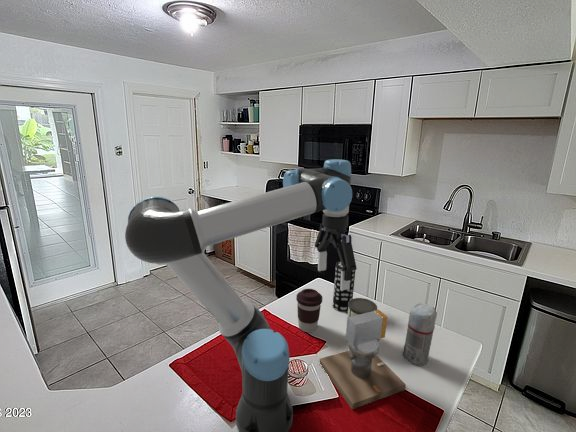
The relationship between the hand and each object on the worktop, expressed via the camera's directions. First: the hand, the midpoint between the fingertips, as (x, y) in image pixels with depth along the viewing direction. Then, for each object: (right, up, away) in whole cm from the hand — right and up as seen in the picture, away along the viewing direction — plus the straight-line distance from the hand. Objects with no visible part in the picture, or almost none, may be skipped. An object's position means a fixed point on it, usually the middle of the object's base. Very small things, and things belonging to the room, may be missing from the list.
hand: (332, 279), depth 98 cm
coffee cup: (-6, -24, +26) cm, 36 cm away
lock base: (+9, -31, +2) cm, 32 cm away
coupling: (+9, -21, -1) cm, 23 cm away
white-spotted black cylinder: (+10, -21, +41) cm, 47 cm away
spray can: (+30, -30, +11) cm, 44 cm away
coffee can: (+13, -26, +20) cm, 36 cm away
